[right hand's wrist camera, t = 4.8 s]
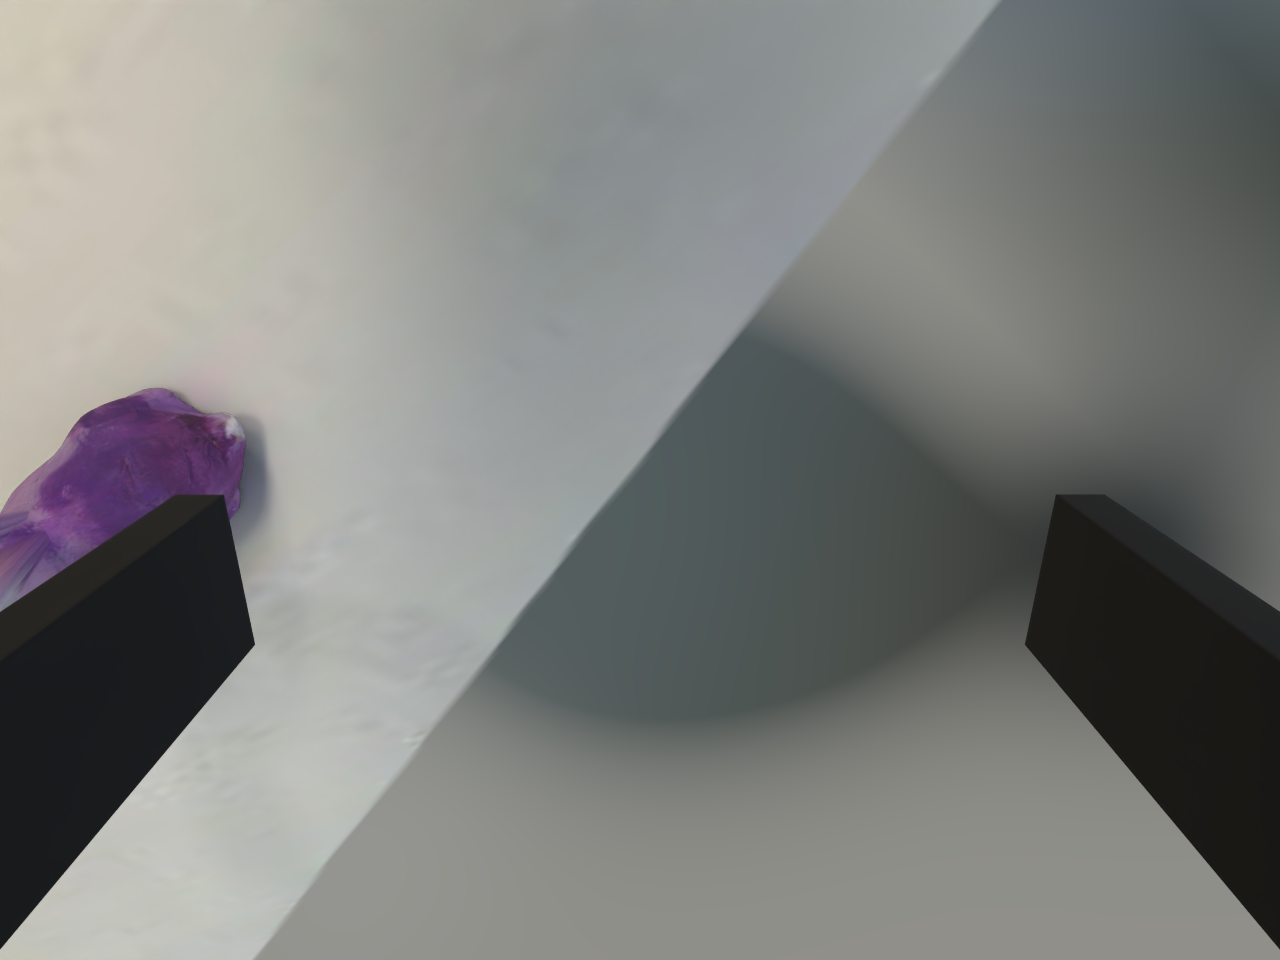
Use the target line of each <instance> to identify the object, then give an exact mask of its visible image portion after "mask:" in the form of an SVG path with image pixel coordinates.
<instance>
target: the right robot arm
mask: <svg viewBox="0 0 1280 960" xmlns="http://www.w3.org/2000/svg"><path fill="white" fill-rule="evenodd" d="M254 645H255V642H254V637H253V632H252V628H251V623H250V618H249V613H248V608H247V603H246V599H245V594H244V589H243V584H242V579H241V574H240V570H239V565H238V560H237V555H236V550H235V545H234V541H233V536H232V531H231V526H230V521H229V516H228V512H227V507H226V502H225V497H224V495H174V496H173V497H171V498H170V499H168V500H167V501H165V502H164V503H162V504H161V505H159V506H158V507H156V508H155V509H153V510H152V511H150V512H149V513H147V514H146V515H144V516H143V517H141V518H140V519H138V520H137V521H135V522H134V523H132V524H131V525H129V526H128V527H126V528H125V529H123V530H122V531H120V532H119V533H117V534H116V535H114V536H113V537H111V538H110V539H108V540H107V541H105V542H104V543H102V544H101V545H99V546H98V547H96V548H95V549H93V550H92V551H90V552H89V553H87V554H86V555H84V556H83V557H81V558H80V559H78V560H77V561H75V562H74V563H72V564H71V565H69V566H68V567H66V568H65V569H63V570H62V571H60V572H59V573H57V574H56V575H54V576H53V577H51V578H50V579H48V580H47V581H45V582H44V583H42V584H41V585H39V586H38V587H36V588H35V589H33V590H32V591H30V592H29V593H27V594H26V595H24V596H23V597H21V598H20V599H18V600H17V601H15V602H14V603H13V604H11V605H10V606H8V607H7V608H5V609H4V610H2V611H1V612H0V949H1V948H2V947H3V945H4V944H5V943H6V942H7V941H8V939H9V938H10V937H11V936H12V935H13V933H14V932H15V931H16V930H17V929H18V927H19V926H20V925H21V924H22V923H23V922H24V920H25V919H26V918H27V917H28V916H29V914H30V913H31V912H32V911H33V910H34V908H35V907H36V906H37V905H38V904H39V902H40V901H41V900H42V899H43V898H44V896H45V895H46V894H47V893H48V892H49V890H50V889H51V888H52V887H53V886H54V884H55V883H56V882H57V881H58V880H59V878H60V877H61V876H62V875H63V874H64V872H65V871H66V870H67V869H68V868H69V866H70V865H71V864H72V863H73V862H74V861H75V859H76V858H77V857H78V856H79V855H80V853H81V852H82V851H83V850H84V849H85V847H86V846H87V845H88V844H89V843H90V841H91V840H92V839H93V838H94V837H95V835H96V834H97V833H98V832H99V831H100V829H101V828H102V827H103V826H104V825H105V823H106V822H107V821H108V820H109V819H110V817H111V816H112V815H113V814H114V813H115V811H116V810H117V809H118V808H119V807H120V805H121V804H122V803H123V802H124V801H125V800H126V798H127V797H128V796H129V795H130V794H131V792H132V791H133V790H134V789H135V788H136V786H137V785H138V784H139V783H140V782H141V780H142V779H143V778H144V777H145V776H146V774H147V773H148V772H149V771H150V770H151V768H152V767H153V766H154V765H155V764H156V762H157V761H158V760H159V759H160V758H161V756H162V755H163V754H164V753H165V752H166V750H167V749H168V748H169V747H170V746H171V744H172V743H173V742H174V741H175V740H176V739H177V737H178V736H179V735H180V734H181V733H182V731H183V730H184V729H185V728H186V727H187V725H188V724H189V723H190V722H191V721H192V719H193V718H194V717H195V716H196V715H197V713H198V712H199V711H200V710H201V709H202V707H203V706H204V705H205V704H206V703H207V701H208V700H209V699H210V698H211V697H212V695H213V694H214V693H215V692H216V691H217V689H218V688H219V687H220V686H221V685H222V683H223V682H224V681H225V680H226V679H227V678H228V676H229V675H230V674H231V673H232V672H233V670H234V669H235V668H236V667H237V666H238V664H239V663H240V662H241V661H242V660H243V658H244V657H245V656H246V655H247V654H248V652H249V651H250V650H251V649H252V648H253V646H254ZM1025 645H1026V646H1027V648H1028V649H1029V650H1030V651H1031V652H1032V654H1033V655H1034V656H1035V657H1036V658H1037V660H1038V661H1039V662H1040V663H1041V664H1042V666H1043V667H1044V668H1045V669H1046V670H1047V672H1048V673H1049V674H1050V675H1051V676H1052V678H1053V679H1054V680H1055V681H1056V682H1057V683H1058V685H1059V686H1060V687H1061V688H1062V689H1063V691H1064V692H1065V693H1066V694H1067V695H1068V697H1069V698H1070V699H1071V700H1072V701H1073V703H1074V704H1075V705H1076V706H1077V707H1078V709H1079V710H1080V711H1081V712H1082V713H1083V715H1084V716H1085V717H1086V718H1087V719H1088V721H1089V722H1090V723H1091V724H1092V725H1093V727H1094V728H1095V729H1096V730H1097V731H1098V733H1099V734H1100V735H1101V736H1102V737H1103V739H1104V740H1105V741H1106V742H1107V743H1108V744H1109V746H1110V747H1111V748H1112V749H1113V750H1114V752H1115V753H1116V754H1117V755H1118V756H1119V758H1120V759H1121V760H1122V761H1123V762H1124V764H1125V765H1126V766H1127V767H1128V768H1129V770H1130V771H1131V772H1132V773H1133V774H1134V776H1135V777H1136V778H1137V779H1138V780H1139V782H1140V783H1141V784H1142V785H1143V786H1144V787H1145V789H1146V790H1147V791H1148V792H1149V794H1150V795H1151V796H1152V797H1153V798H1154V800H1155V801H1156V802H1157V803H1158V804H1159V805H1160V807H1161V808H1162V809H1163V810H1164V811H1165V813H1166V814H1167V815H1168V816H1169V817H1170V819H1171V820H1172V821H1173V822H1174V823H1175V825H1176V826H1177V827H1178V828H1179V829H1180V831H1181V832H1182V833H1183V834H1184V835H1185V837H1186V838H1187V839H1188V840H1189V841H1190V843H1191V844H1192V845H1193V846H1194V847H1195V849H1196V850H1197V851H1198V852H1199V853H1200V854H1201V856H1202V857H1203V858H1204V859H1205V860H1206V862H1207V863H1208V864H1209V865H1210V866H1211V868H1212V869H1213V870H1214V871H1215V872H1216V874H1217V875H1218V876H1219V877H1220V878H1221V880H1222V881H1223V882H1224V883H1225V884H1226V886H1227V887H1228V888H1229V889H1230V890H1231V892H1232V893H1233V894H1234V895H1235V896H1236V898H1237V899H1238V900H1239V901H1240V902H1241V904H1242V905H1243V906H1244V907H1245V908H1246V910H1247V911H1248V912H1249V913H1250V914H1251V916H1252V917H1253V918H1254V919H1255V920H1256V921H1257V923H1258V924H1259V925H1260V926H1261V927H1262V929H1263V930H1264V931H1265V932H1266V933H1267V935H1268V936H1269V937H1270V938H1271V939H1272V941H1273V942H1274V943H1275V944H1276V945H1277V947H1278V948H1279V949H1280V612H1279V611H1278V610H1276V609H1275V608H1273V607H1272V606H1270V605H1269V604H1267V603H1266V602H1264V601H1263V600H1261V599H1260V598H1258V597H1257V596H1255V595H1254V594H1253V593H1251V592H1250V591H1248V590H1246V589H1245V588H1244V587H1242V586H1240V585H1239V584H1238V583H1236V582H1235V581H1233V580H1232V579H1230V578H1229V577H1227V576H1226V575H1224V574H1223V573H1221V572H1220V571H1218V570H1217V569H1215V568H1214V567H1212V566H1211V565H1209V564H1208V563H1206V562H1205V561H1203V560H1202V559H1200V558H1199V557H1197V556H1196V555H1194V554H1193V553H1191V552H1190V551H1188V550H1187V549H1185V548H1184V547H1182V546H1181V545H1179V544H1178V543H1176V542H1175V541H1173V540H1172V539H1170V538H1169V537H1167V536H1166V535H1164V534H1163V533H1161V532H1160V531H1158V530H1157V529H1155V528H1154V527H1152V526H1151V525H1149V524H1148V523H1146V522H1145V521H1143V520H1142V519H1140V518H1139V517H1137V516H1136V515H1134V514H1133V513H1131V512H1130V511H1128V510H1127V509H1125V508H1124V507H1122V506H1121V505H1119V504H1118V503H1116V502H1115V501H1113V500H1112V499H1110V498H1109V497H1107V496H1106V495H1056V497H1055V502H1054V507H1053V512H1052V517H1051V521H1050V526H1049V531H1048V536H1047V541H1046V545H1045V550H1044V555H1043V560H1042V565H1041V570H1040V575H1039V579H1038V584H1037V589H1036V594H1035V599H1034V604H1033V608H1032V613H1031V618H1030V623H1029V628H1028V633H1027V637H1026V642H1025Z"/></svg>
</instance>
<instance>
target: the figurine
mask: <svg viewBox="0 0 1280 960" xmlns="http://www.w3.org/2000/svg"><path fill="white" fill-rule="evenodd" d="M245 445H246V438H245V434H244V431H243V428H242V426H241V424H240V423H239V421H238V420H237V419H236V418H235V417H234V416H232V415H230V414H228V413H225V412H222V413H216V414H202V413H200V412H198V411H196V410H195V409H194V408H193V407H190V406H188V405H187V404H186V403H184V402H183V401H181V400H180V399H179V398H178V397H177V396H176V395H175V394H173V393H172V392H170V391H168V390H166V389H162V388H150V389H144V390H141V391H139V392H137V393H134V394H132V395H130V396H128V397H126V398H122V399H118V400H115V401H112V402H109V403H107V404H104V405H102V406H100V407H98V408H95V409H93V410H91V411H90V412H88V413H86V414H85V415H83V416H82V417H81V418H80V419H79V420H78V422H77V423H76V424H75V425H74V427H73V428H72V429H71V431H70V432H69V434H68V436H67V437H66V439H65V441H64V443H63V444H62V446H61V447H60V449H59V450H58V451H57V452H56V453H55V455H54V456H53V457H51V458H50V459H49V460H48V461H47V462H45V463H44V464H43V465H42V466H41V467H39V468H38V469H37V470H36V471H34V472H33V473H32V474H31V475H29V476H28V477H27V478H26V479H25V480H24V481H23V482H22V483H21V484H20V485H19V486H18V487H17V488H16V489H15V490H14V492H13V493H12V494H11V496H10V497H9V499H8V501H7V502H6V504H5V506H4V507H3V509H2V511H1V513H0V612H1V611H2V610H4V609H5V608H7V607H8V606H10V605H11V604H13V603H14V602H15V601H17V600H18V599H20V598H21V597H23V596H24V595H26V594H27V593H29V592H30V591H32V590H33V589H35V588H36V587H38V586H39V585H41V584H42V583H44V582H45V581H47V580H48V579H50V578H51V577H53V576H54V575H56V574H57V573H59V572H60V571H62V570H63V569H65V568H66V567H68V566H69V565H71V564H72V563H74V562H75V561H77V560H78V559H80V558H81V557H83V556H84V555H86V554H87V553H89V552H90V551H92V550H93V549H95V548H96V547H98V546H99V545H101V544H102V543H104V542H105V541H107V540H108V539H110V538H111V537H113V536H114V535H116V534H117V533H119V532H120V531H122V530H123V529H125V528H126V527H128V526H129V525H131V524H132V523H134V522H135V521H137V520H138V519H140V518H141V517H143V516H144V515H146V514H147V513H149V512H150V511H152V510H153V509H155V508H156V507H158V506H159V505H161V504H162V503H164V502H165V501H167V500H168V499H170V498H171V497H173V496H174V495H224V497H225V502H226V507H227V512H228V516H229V520H230V519H231V518H232V516H233V515H234V514H235V513H236V512H237V511H238V508H239V506H240V490H239V488H238V484H239V481H240V479H241V475H242V471H243V462H244V454H245Z"/></svg>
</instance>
